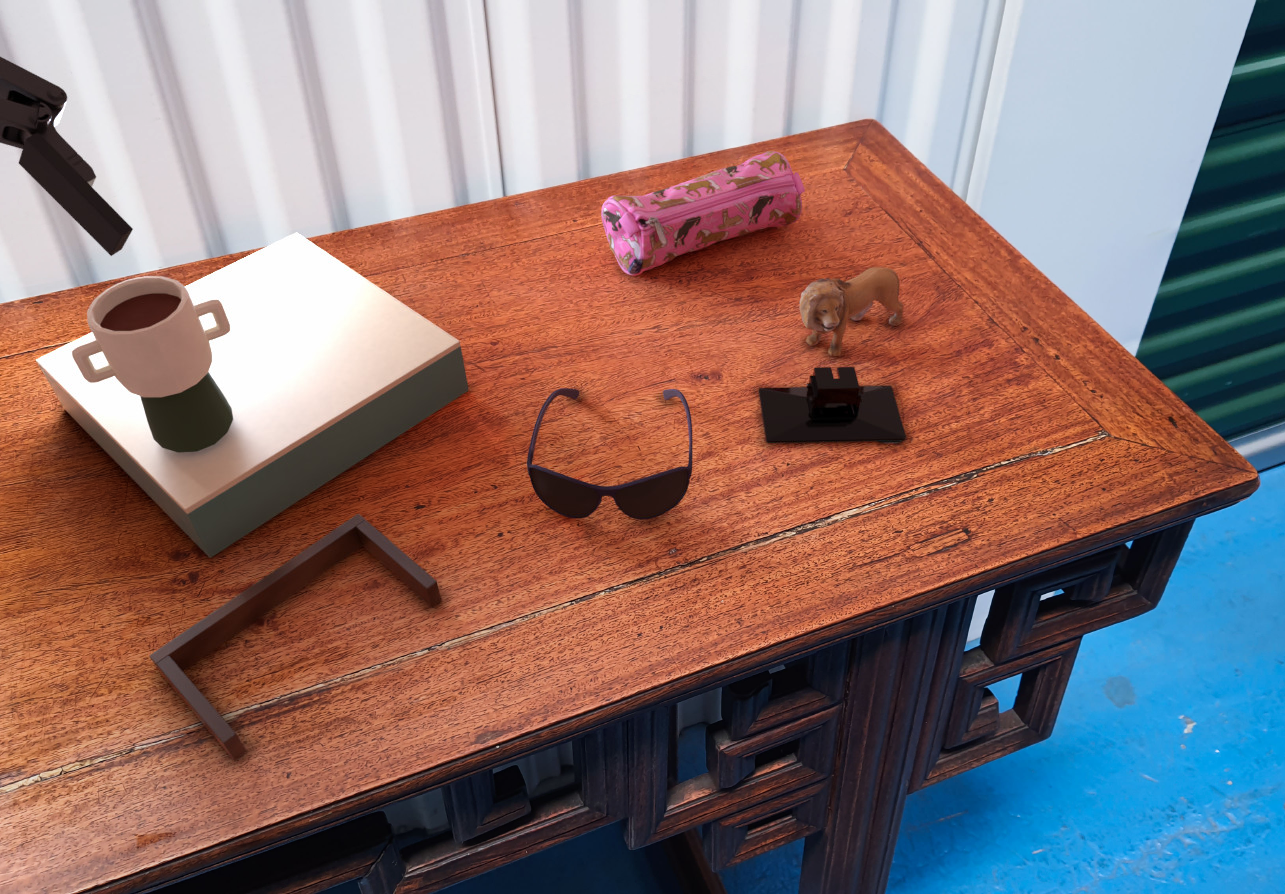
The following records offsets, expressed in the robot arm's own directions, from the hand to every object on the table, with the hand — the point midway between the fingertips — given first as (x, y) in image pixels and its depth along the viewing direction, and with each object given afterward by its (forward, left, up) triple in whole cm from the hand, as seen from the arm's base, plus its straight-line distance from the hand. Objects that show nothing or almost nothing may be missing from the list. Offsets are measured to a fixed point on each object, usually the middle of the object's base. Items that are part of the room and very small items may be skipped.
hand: (17, 311), depth 51 cm
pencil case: (+64, +7, -32) cm, 72 cm away
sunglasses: (+34, -8, -32) cm, 47 cm away
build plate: (+51, -19, -32) cm, 63 cm away
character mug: (+9, +15, -26) cm, 31 cm away
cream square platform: (+18, +21, -32) cm, 42 cm away
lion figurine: (+61, -14, -32) cm, 70 cm away
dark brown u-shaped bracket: (+5, -4, -32) cm, 32 cm away
